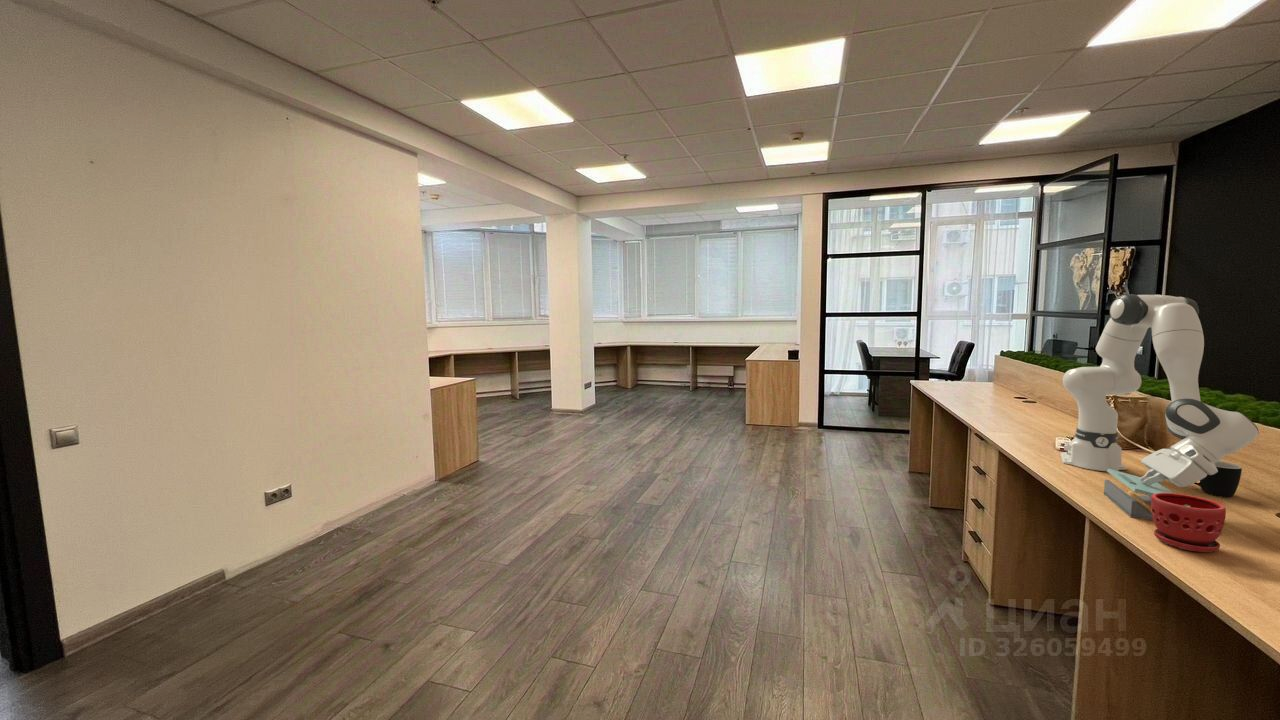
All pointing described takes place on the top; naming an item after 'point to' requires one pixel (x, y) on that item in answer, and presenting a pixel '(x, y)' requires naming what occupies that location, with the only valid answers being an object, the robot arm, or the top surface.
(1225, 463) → the mug
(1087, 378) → the robot arm
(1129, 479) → the lid
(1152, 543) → the top surface
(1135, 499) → the grey rectangular box
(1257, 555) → the top surface
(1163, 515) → the plant pot
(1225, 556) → the top surface
